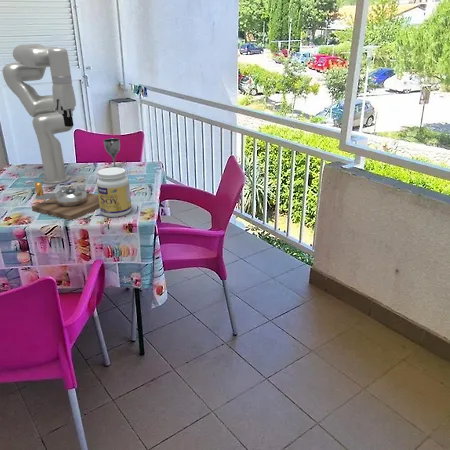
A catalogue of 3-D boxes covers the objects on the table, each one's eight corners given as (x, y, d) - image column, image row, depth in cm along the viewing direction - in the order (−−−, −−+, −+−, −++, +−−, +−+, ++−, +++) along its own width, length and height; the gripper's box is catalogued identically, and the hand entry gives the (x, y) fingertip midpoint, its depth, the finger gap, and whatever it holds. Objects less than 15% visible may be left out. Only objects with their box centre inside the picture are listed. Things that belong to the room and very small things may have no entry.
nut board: (32, 210, 175) (31, 205, 174) (74, 194, 192) (73, 189, 191) (71, 220, 165) (70, 215, 164) (111, 202, 182) (111, 197, 181)
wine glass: (115, 171, 222) (111, 142, 216) (104, 169, 226) (100, 140, 220) (126, 167, 228) (122, 139, 222) (115, 165, 232) (111, 137, 226)
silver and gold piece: (89, 195, 184) (86, 176, 180) (84, 205, 173) (81, 185, 169) (41, 197, 182) (38, 178, 178) (33, 208, 171) (29, 188, 167)
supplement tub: (96, 217, 167) (90, 175, 160) (106, 206, 178) (100, 166, 172) (127, 218, 167) (123, 175, 160) (135, 206, 178) (131, 166, 171)
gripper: (63, 78, 184) (70, 122, 191) (43, 82, 170) (51, 129, 178) (79, 78, 182) (86, 123, 190) (60, 82, 169) (68, 130, 176)
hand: (69, 126), depth 184 cm, fingers closed
